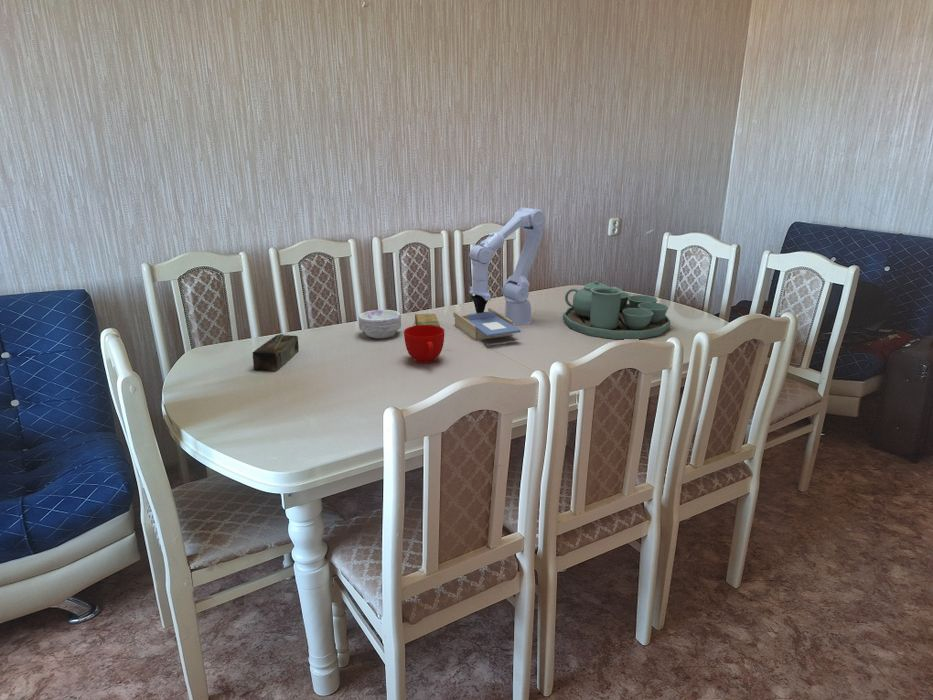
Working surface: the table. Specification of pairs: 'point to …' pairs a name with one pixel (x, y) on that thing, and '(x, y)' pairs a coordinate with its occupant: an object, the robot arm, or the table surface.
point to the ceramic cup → (424, 342)
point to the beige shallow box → (471, 328)
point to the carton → (426, 319)
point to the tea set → (615, 313)
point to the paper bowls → (380, 323)
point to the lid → (491, 324)
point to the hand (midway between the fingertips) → (479, 314)
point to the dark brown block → (275, 352)
